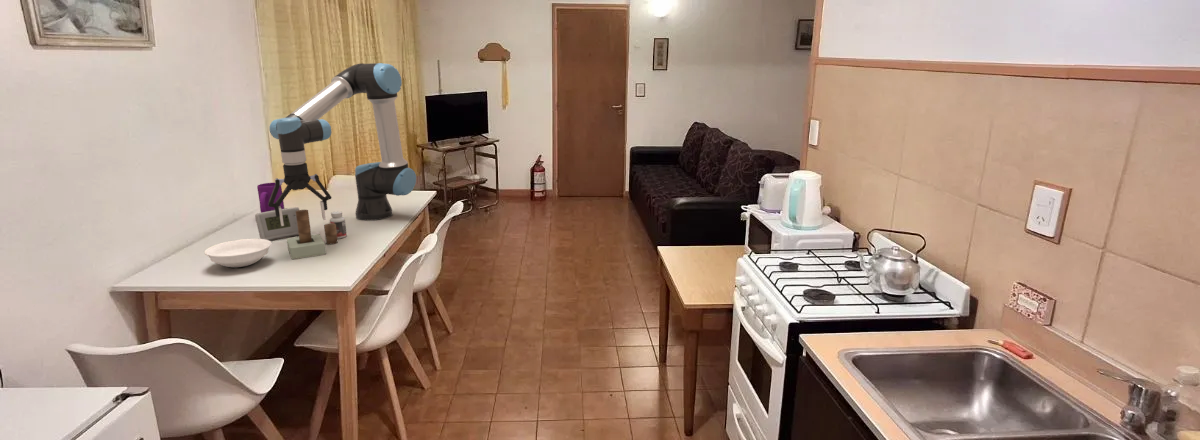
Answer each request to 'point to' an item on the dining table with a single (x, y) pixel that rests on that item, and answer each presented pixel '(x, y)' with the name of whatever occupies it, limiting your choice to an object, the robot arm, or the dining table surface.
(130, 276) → the dining table surface
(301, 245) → the hole board
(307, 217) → the long dowel
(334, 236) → the short dowel
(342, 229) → the pill bottle
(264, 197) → the mug
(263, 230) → the digital clock
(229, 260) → the bowl
